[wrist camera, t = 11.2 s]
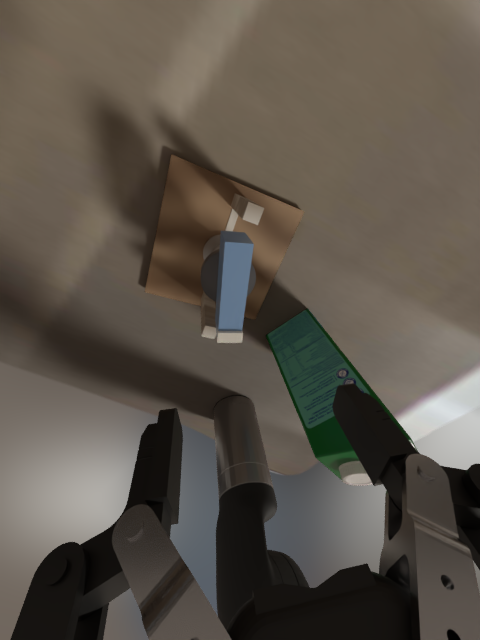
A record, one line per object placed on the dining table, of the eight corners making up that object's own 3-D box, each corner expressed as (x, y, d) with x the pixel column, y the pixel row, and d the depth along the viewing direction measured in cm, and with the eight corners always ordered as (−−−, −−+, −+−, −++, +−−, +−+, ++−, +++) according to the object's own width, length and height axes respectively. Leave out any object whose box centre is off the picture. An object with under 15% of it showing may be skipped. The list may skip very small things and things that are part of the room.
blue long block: (259, 230, 25) (275, 246, 20) (247, 313, 30) (258, 343, 25) (201, 225, 24) (202, 241, 19) (199, 311, 29) (199, 343, 24)
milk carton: (265, 335, 45) (325, 481, 24) (307, 307, 43) (412, 440, 22) (288, 362, 49) (355, 505, 28) (327, 338, 47) (430, 473, 26)
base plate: (253, 316, 42) (269, 358, 32) (146, 288, 36) (127, 329, 27) (301, 210, 34) (341, 225, 24) (172, 154, 28) (159, 146, 19)
